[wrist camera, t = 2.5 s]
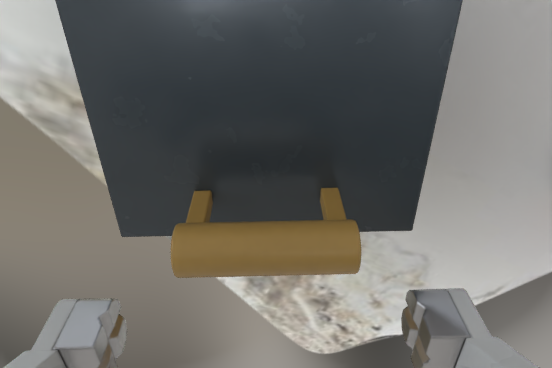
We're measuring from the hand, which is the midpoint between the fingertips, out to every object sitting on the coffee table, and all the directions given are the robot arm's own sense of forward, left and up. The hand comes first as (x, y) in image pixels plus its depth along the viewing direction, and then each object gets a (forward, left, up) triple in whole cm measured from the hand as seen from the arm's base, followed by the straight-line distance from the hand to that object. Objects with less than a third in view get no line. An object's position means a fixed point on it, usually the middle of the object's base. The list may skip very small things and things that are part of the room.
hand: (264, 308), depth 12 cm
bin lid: (-2, -5, -6) cm, 9 cm away
